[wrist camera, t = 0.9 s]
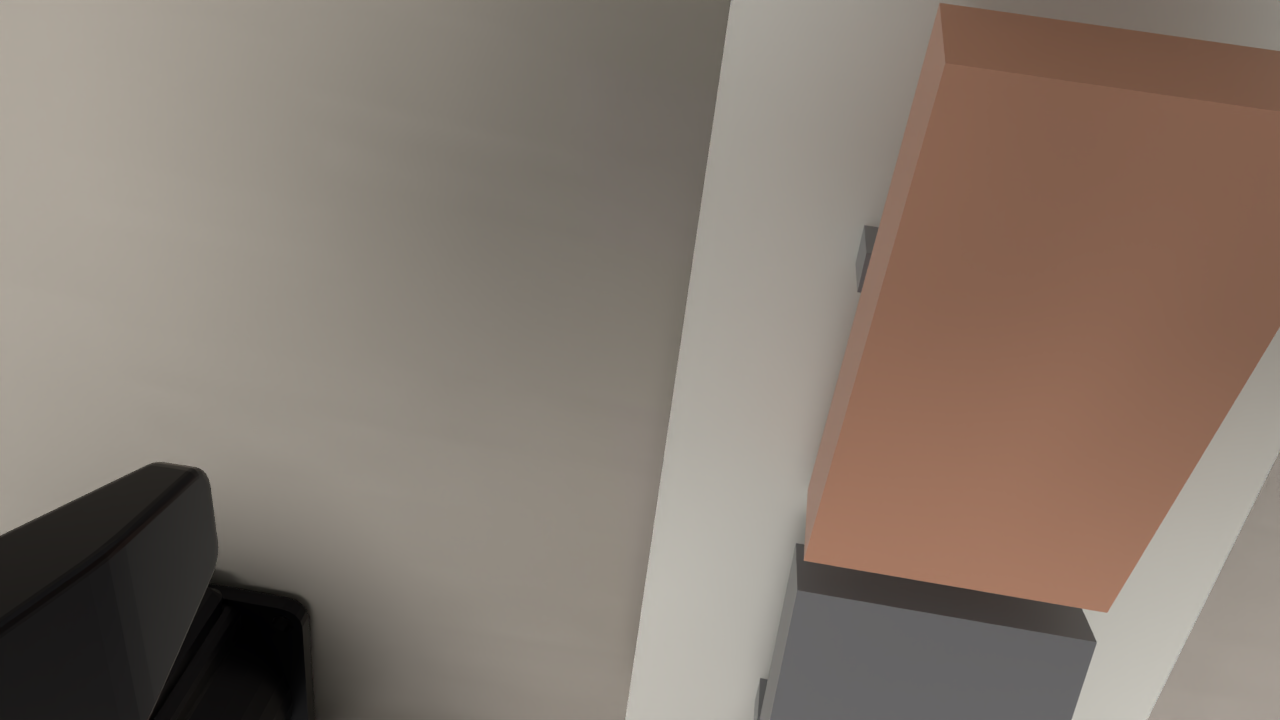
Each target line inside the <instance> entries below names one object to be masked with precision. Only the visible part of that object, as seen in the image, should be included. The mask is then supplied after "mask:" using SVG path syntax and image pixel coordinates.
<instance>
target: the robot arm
mask: <svg viewBox="0 0 1280 720" xmlns="http://www.w3.org/2000/svg"><path fill="white" fill-rule="evenodd" d="M217 556H218V539H217V532H216V524H215V517H214V509H213V502H212V494H211V487H210V482H209V479H208V477H207V475H206V473H205V472H204V471H203V470H201V469H199V468H197V467H191V466H185V465H178V464H172V463H165V462H155V463H151V464H149V465H146V466H144V467H142V468H140V469H138V470H136V471H134V472H132V473H130V474H128V475H125V476H123V477H121V478H119V479H117V480H115V481H113V482H111V483H109V484H107V485H105V486H103V487H101V488H98V489H96V490H94V491H92V492H90V493H88V494H86V495H84V496H82V497H80V498H78V499H76V500H74V501H71V502H69V503H67V504H65V505H63V506H61V507H59V508H57V509H55V510H53V511H51V512H49V513H47V514H44V515H42V516H40V517H38V518H36V519H34V520H32V521H30V522H28V523H26V524H24V525H22V526H20V527H17V528H15V529H13V530H11V531H9V532H7V533H5V534H3V535H1V536H0V720H315V716H314V699H313V682H312V665H311V648H310V631H309V616H308V613H307V610H306V609H305V607H304V606H303V605H302V604H301V603H299V602H298V601H296V600H294V599H290V598H287V597H281V596H276V595H270V594H265V593H259V592H253V591H248V590H242V589H237V588H231V587H225V586H220V585H214V584H209V582H210V580H211V577H212V575H213V572H214V569H215V566H216V562H217ZM282 616H283V617H285V618H288V619H289V620H287V619H285V618H283V617H282Z"/></svg>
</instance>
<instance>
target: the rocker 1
mask: <svg viewBox="0 0 1280 720" xmlns="http://www.w3.org/2000/svg"><path fill="white" fill-rule="evenodd" d="M1279 327H1280V51H1275V50H1268V49H1261V48H1254V47H1247V46H1240V45H1233V44H1226V43H1219V42H1212V41H1205V40H1198V39H1191V38H1184V37H1177V36H1170V35H1163V34H1156V33H1149V32H1142V31H1135V30H1128V29H1121V28H1114V27H1107V26H1100V25H1093V24H1086V23H1079V22H1071V21H1064V20H1057V19H1050V18H1043V17H1036V16H1029V15H1022V14H1015V13H1008V12H1001V11H994V10H987V9H980V8H973V7H966V6H959V5H952V4H945V3H939V7H938V10H937V14H936V18H935V21H934V25H933V29H932V32H931V36H930V40H929V43H928V47H927V51H926V55H925V58H924V62H923V66H922V69H921V73H920V77H919V80H918V84H917V88H916V91H915V95H914V99H913V103H912V106H911V110H910V114H909V117H908V121H907V125H906V128H905V132H904V136H903V140H902V143H901V147H900V151H899V154H898V158H897V162H896V165H895V169H894V173H893V176H892V180H891V184H890V188H889V191H888V195H887V199H886V202H885V206H884V210H883V213H882V217H881V221H880V225H879V228H878V232H877V236H876V239H875V243H874V247H873V250H872V254H871V258H870V261H869V265H868V269H867V273H866V276H865V280H864V284H863V287H862V291H861V295H860V298H859V302H858V306H857V310H856V313H855V317H854V321H853V324H852V328H851V332H850V335H849V339H848V343H847V346H846V350H845V354H844V358H843V361H842V365H841V369H840V372H839V376H838V380H837V383H836V387H835V391H834V395H833V398H832V402H831V406H830V409H829V413H828V417H827V420H826V424H825V428H824V431H823V435H822V439H821V443H820V446H819V450H818V454H817V457H816V461H815V465H814V468H813V472H812V476H811V479H810V483H809V487H808V494H807V511H806V528H805V545H804V561H808V562H814V563H820V564H825V565H831V566H837V567H843V568H849V569H855V570H860V571H866V572H872V573H878V574H884V575H889V576H895V577H901V578H907V579H913V580H919V581H924V582H930V583H936V584H942V585H948V586H953V587H959V588H965V589H971V590H977V591H983V592H988V593H994V594H1000V595H1006V596H1012V597H1017V598H1023V599H1029V600H1035V601H1041V602H1047V603H1052V604H1058V605H1064V606H1070V607H1076V608H1081V609H1087V610H1093V611H1099V612H1105V613H1107V612H1108V611H1109V609H1110V607H1111V606H1112V604H1113V602H1114V601H1115V599H1116V597H1117V596H1118V594H1119V592H1120V591H1121V589H1122V588H1123V586H1124V584H1125V583H1126V581H1127V579H1128V578H1129V576H1130V574H1131V573H1132V571H1133V569H1134V568H1135V566H1136V564H1137V563H1138V561H1139V559H1140V558H1141V556H1142V554H1143V553H1144V551H1145V549H1146V548H1147V546H1148V544H1149V543H1150V541H1151V539H1152V538H1153V536H1154V535H1155V533H1156V531H1157V530H1158V528H1159V526H1160V525H1161V523H1162V521H1163V520H1164V518H1165V516H1166V515H1167V513H1168V511H1169V510H1170V508H1171V506H1172V505H1173V503H1174V501H1175V500H1176V498H1177V496H1178V495H1179V493H1180V491H1181V490H1182V488H1183V486H1184V485H1185V483H1186V482H1187V480H1188V478H1189V477H1190V475H1191V473H1192V472H1193V470H1194V468H1195V467H1196V465H1197V463H1198V462H1199V460H1200V458H1201V457H1202V455H1203V453H1204V452H1205V450H1206V448H1207V447H1208V445H1209V443H1210V442H1211V440H1212V438H1213V437H1214V435H1215V433H1216V432H1217V430H1218V428H1219V427H1220V425H1221V424H1222V422H1223V420H1224V419H1225V417H1226V415H1227V414H1228V412H1229V410H1230V409H1231V407H1232V405H1233V404H1234V402H1235V400H1236V399H1237V397H1238V395H1239V394H1240V392H1241V390H1242V389H1243V387H1244V385H1245V384H1246V382H1247V380H1248V379H1249V377H1250V375H1251V374H1252V372H1253V371H1254V369H1255V367H1256V366H1257V364H1258V362H1259V361H1260V359H1261V357H1262V356H1263V354H1264V352H1265V351H1266V349H1267V347H1268V346H1269V344H1270V342H1271V341H1272V339H1273V337H1274V336H1275V334H1276V332H1277V331H1278V329H1279Z"/></svg>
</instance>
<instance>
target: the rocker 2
mask: <svg viewBox="0 0 1280 720" xmlns="http://www.w3.org/2000/svg"><path fill="white" fill-rule="evenodd" d="M1096 644H1097V641H1096V639H1095V637H1094V634H1093V632H1092V630H1091V628H1090V625H1089V623H1088V621H1087V619H1086V617H1085V614H1084V612H1083V610H1082V609H1081V608H1076V607H1070V606H1064V605H1058V604H1052V603H1047V602H1041V601H1035V600H1029V599H1023V598H1017V597H1012V596H1006V595H1000V594H994V593H988V592H983V591H977V590H971V589H965V588H959V587H953V586H948V585H942V584H936V583H930V582H924V581H919V580H913V579H907V578H901V577H895V576H889V575H884V574H878V573H872V572H866V571H860V570H855V569H849V568H843V567H837V566H831V565H825V564H820V563H814V562H808V561H804V544H798V543H796V545H795V550H794V555H793V560H792V564H791V569H790V574H789V579H788V584H787V589H786V594H785V598H784V603H783V608H782V613H781V618H780V623H779V627H778V632H777V637H776V642H775V647H774V652H773V657H772V661H771V666H770V671H769V676H768V681H767V686H766V691H765V695H764V700H763V705H762V710H761V715H760V720H1072V717H1073V714H1074V711H1075V708H1076V705H1077V702H1078V699H1079V696H1080V692H1081V689H1082V686H1083V683H1084V680H1085V677H1086V674H1087V671H1088V668H1089V665H1090V662H1091V659H1092V656H1093V653H1094V650H1095V647H1096Z"/></svg>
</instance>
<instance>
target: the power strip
mask: <svg viewBox="0 0 1280 720" xmlns="http://www.w3.org/2000/svg"><path fill="white" fill-rule="evenodd" d="M939 3H945V4H952V5H959V6H966V7H973V8H980V9H987V10H994V11H1001V12H1008V13H1015V14H1022V15H1029V16H1036V17H1043V18H1050V19H1057V20H1064V21H1071V22H1079V23H1086V24H1093V25H1100V26H1107V27H1114V28H1121V29H1128V30H1135V31H1142V32H1149V33H1156V34H1163V35H1170V36H1177V37H1184V38H1191V39H1198V40H1205V41H1212V42H1219V43H1226V44H1233V45H1240V46H1247V47H1254V48H1261V49H1268V50H1275V51H1280V0H731V3H730V10H729V17H728V24H727V31H726V37H725V44H724V51H723V58H722V65H721V71H720V78H719V85H718V92H717V99H716V106H715V112H714V119H713V126H712V133H711V140H710V146H709V153H708V160H707V167H706V174H705V180H704V187H703V194H702V201H701V208H700V214H699V221H698V228H697V235H696V242H695V248H694V255H693V262H692V269H691V276H690V282H689V289H688V296H687V303H686V310H685V316H684V323H683V330H682V337H681V344H680V351H679V357H678V364H677V371H676V378H675V385H674V391H673V398H672V405H671V412H670V419H669V425H668V432H667V439H666V446H665V453H664V459H663V466H662V473H661V480H660V487H659V493H658V500H657V507H656V514H655V521H654V527H653V534H652V541H651V548H650V555H649V562H648V568H647V575H646V582H645V589H644V596H643V602H642V609H641V616H640V623H639V630H638V636H637V643H636V650H635V657H634V664H633V670H632V677H631V684H630V691H629V698H628V704H627V711H626V718H625V720H760V715H761V710H762V705H763V700H764V695H765V691H766V686H767V681H768V676H769V671H770V666H771V661H772V657H773V652H774V647H775V642H776V637H777V632H778V627H779V623H780V618H781V613H782V608H783V603H784V598H785V594H786V589H787V584H788V579H789V574H790V569H791V564H792V560H793V555H794V550H795V545H796V543H798V544H804V545H805V528H806V511H807V494H808V487H809V483H810V479H811V476H812V472H813V468H814V465H815V461H816V457H817V454H818V450H819V446H820V443H821V439H822V435H823V431H824V428H825V424H826V420H827V417H828V413H829V409H830V406H831V402H832V398H833V395H834V391H835V387H836V383H837V380H838V376H839V372H840V369H841V365H842V361H843V358H844V354H845V350H846V346H847V343H848V339H849V335H850V332H851V328H852V324H853V321H854V317H855V313H856V310H857V306H858V302H859V298H860V295H861V291H862V287H863V284H864V280H865V276H866V273H867V269H868V265H869V261H870V258H871V254H872V250H873V247H874V243H875V239H876V236H877V232H878V228H879V225H880V221H881V217H882V213H883V210H884V206H885V202H886V199H887V195H888V191H889V188H890V184H891V180H892V176H893V173H894V169H895V165H896V162H897V158H898V154H899V151H900V147H901V143H902V140H903V136H904V132H905V128H906V125H907V121H908V117H909V114H910V110H911V106H912V103H913V99H914V95H915V91H916V88H917V84H918V80H919V77H920V73H921V69H922V66H923V62H924V58H925V55H926V51H927V47H928V43H929V40H930V36H931V32H932V29H933V25H934V21H935V18H936V14H937V10H938V7H939ZM1279 452H1280V327H1279V329H1278V331H1277V332H1276V334H1275V336H1274V337H1273V339H1272V341H1271V342H1270V344H1269V346H1268V347H1267V349H1266V351H1265V352H1264V354H1263V356H1262V357H1261V359H1260V361H1259V362H1258V364H1257V366H1256V367H1255V369H1254V371H1253V372H1252V374H1251V375H1250V377H1249V379H1248V380H1247V382H1246V384H1245V385H1244V387H1243V389H1242V390H1241V392H1240V394H1239V395H1238V397H1237V399H1236V400H1235V402H1234V404H1233V405H1232V407H1231V409H1230V410H1229V412H1228V414H1227V415H1226V417H1225V419H1224V420H1223V422H1222V424H1221V425H1220V427H1219V428H1218V430H1217V432H1216V433H1215V435H1214V437H1213V438H1212V440H1211V442H1210V443H1209V445H1208V447H1207V448H1206V450H1205V452H1204V453H1203V455H1202V457H1201V458H1200V460H1199V462H1198V463H1197V465H1196V467H1195V468H1194V470H1193V472H1192V473H1191V475H1190V477H1189V478H1188V480H1187V482H1186V483H1185V485H1184V486H1183V488H1182V490H1181V491H1180V493H1179V495H1178V496H1177V498H1176V500H1175V501H1174V503H1173V505H1172V506H1171V508H1170V510H1169V511H1168V513H1167V515H1166V516H1165V518H1164V520H1163V521H1162V523H1161V525H1160V526H1159V528H1158V530H1157V531H1156V533H1155V535H1154V536H1153V538H1152V539H1151V541H1150V543H1149V544H1148V546H1147V548H1146V549H1145V551H1144V553H1143V554H1142V556H1141V558H1140V559H1139V561H1138V563H1137V564H1136V566H1135V568H1134V569H1133V571H1132V573H1131V574H1130V576H1129V578H1128V579H1127V581H1126V583H1125V584H1124V586H1123V588H1122V589H1121V591H1120V592H1119V594H1118V596H1117V597H1116V599H1115V601H1114V602H1113V604H1112V606H1111V607H1110V609H1109V611H1108V612H1107V613H1105V612H1099V611H1093V610H1087V609H1082V610H1083V612H1084V614H1085V617H1086V619H1087V621H1088V623H1089V625H1090V628H1091V630H1092V632H1093V634H1094V637H1095V639H1096V641H1097V644H1096V647H1095V650H1094V653H1093V656H1092V659H1091V662H1090V665H1089V668H1088V671H1087V674H1086V677H1085V680H1084V683H1083V686H1082V689H1081V692H1080V696H1079V699H1078V702H1077V705H1076V708H1075V711H1074V714H1073V717H1072V720H1147V719H1148V717H1149V715H1150V713H1151V711H1152V709H1153V707H1154V705H1155V703H1156V701H1157V699H1158V697H1159V695H1160V693H1161V691H1162V689H1163V687H1164V685H1165V683H1166V681H1167V679H1168V677H1169V675H1170V673H1171V671H1172V669H1173V667H1174V665H1175V663H1176V660H1177V658H1178V656H1179V654H1180V652H1181V650H1182V648H1183V646H1184V644H1185V642H1186V640H1187V638H1188V636H1189V634H1190V632H1191V630H1192V628H1193V626H1194V624H1195V622H1196V620H1197V618H1198V616H1199V614H1200V612H1201V610H1202V608H1203V606H1204V604H1205V602H1206V600H1207V598H1208V596H1209V594H1210V592H1211V590H1212V587H1213V585H1214V583H1215V581H1216V579H1217V577H1218V575H1219V573H1220V571H1221V569H1222V567H1223V565H1224V563H1225V561H1226V559H1227V557H1228V555H1229V553H1230V551H1231V549H1232V547H1233V545H1234V543H1235V541H1236V539H1237V537H1238V535H1239V533H1240V531H1241V529H1242V527H1243V525H1244V523H1245V521H1246V519H1247V516H1248V514H1249V512H1250V510H1251V508H1252V506H1253V504H1254V502H1255V500H1256V498H1257V496H1258V494H1259V492H1260V490H1261V488H1262V486H1263V484H1264V482H1265V480H1266V478H1267V476H1268V474H1269V472H1270V470H1271V468H1272V466H1273V464H1274V462H1275V460H1276V458H1277V456H1278V454H1279Z"/></svg>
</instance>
